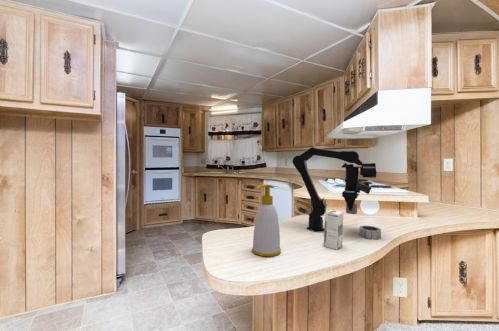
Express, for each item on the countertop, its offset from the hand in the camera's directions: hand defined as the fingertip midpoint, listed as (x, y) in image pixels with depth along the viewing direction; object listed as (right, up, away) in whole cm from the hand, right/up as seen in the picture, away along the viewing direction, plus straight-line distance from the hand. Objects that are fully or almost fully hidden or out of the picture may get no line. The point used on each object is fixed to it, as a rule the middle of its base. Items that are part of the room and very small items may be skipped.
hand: (351, 209), depth 116 cm
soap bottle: (-43, -13, -22) cm, 49 cm away
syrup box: (-14, -13, -16) cm, 25 cm away
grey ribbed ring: (+7, -12, -3) cm, 14 cm away
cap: (0, -2, 0) cm, 2 cm away
